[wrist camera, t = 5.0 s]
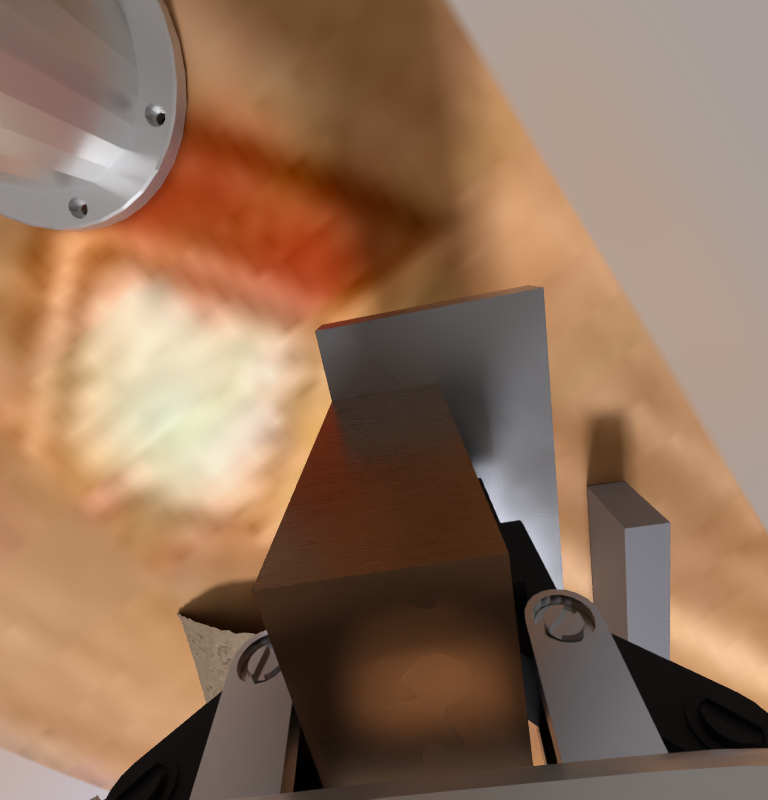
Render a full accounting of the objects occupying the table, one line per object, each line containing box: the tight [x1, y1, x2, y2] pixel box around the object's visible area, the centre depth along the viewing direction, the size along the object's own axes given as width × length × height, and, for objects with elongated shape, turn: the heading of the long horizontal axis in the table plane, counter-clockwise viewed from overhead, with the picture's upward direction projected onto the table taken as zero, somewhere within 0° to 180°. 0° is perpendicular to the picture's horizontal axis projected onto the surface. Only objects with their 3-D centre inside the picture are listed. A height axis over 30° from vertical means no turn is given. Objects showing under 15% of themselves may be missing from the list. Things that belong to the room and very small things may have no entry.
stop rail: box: [587, 481, 670, 660], centre depth 23 cm, size 18×2×4 cm, turn 11°
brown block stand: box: [252, 285, 564, 789], centre depth 10 cm, size 12×6×8 cm, turn 11°
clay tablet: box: [177, 614, 256, 704], centre depth 26 cm, size 14×10×3 cm
